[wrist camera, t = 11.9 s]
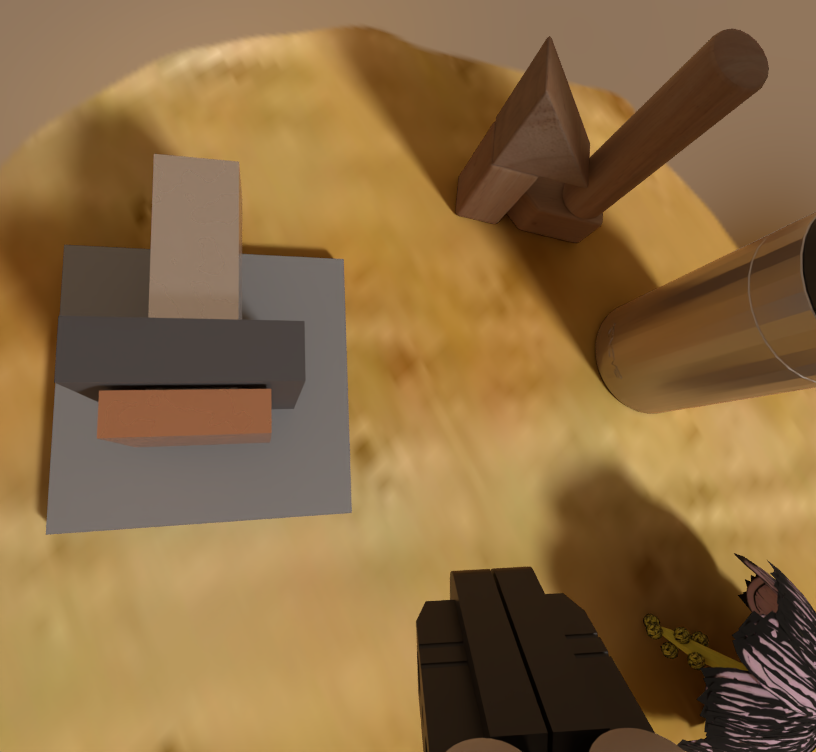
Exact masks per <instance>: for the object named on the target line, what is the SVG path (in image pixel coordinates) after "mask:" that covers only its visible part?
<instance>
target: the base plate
mask: <svg viewBox="0 0 816 752" xmlns="http://www.w3.org/2000/svg"><path fill="white" fill-rule="evenodd" d="M150 254H151V249H137V248H118V247H98V246H79V245H64V256H63V272H62V288H61V304H60V316H99V317H146V318H148V313H149V283H150ZM242 320H285V321H305V375H306V381H305V383H304V386H303V388H302V391H301V393H300V395H299V398H298V400H297V402H296V405H295V407H294V409H271V414H272V434H271V441H270V443H246V444H218V445H190V446H162V447H132V446H127V445H123V444H119V443H114V442H110V441H106V440H101V439H97V422H98V402H97V401H94V400H92V399H90V398H88V397H86V396H83V395H81V394H79V393H77V392H74V391H72V390H70V389H68V388H66V387H63V386H61V385H59V384H57V383H55V398H54V414H53V430H52V445H51V461H50V477H49V493H48V508H47V524H46V535H48V534H62V533H76V532H90V531H104V530H118V529H132V528H146V527H160V526H174V525H188V524H202V523H216V522H230V521H244V520H258V519H272V518H286V517H300V516H314V515H328V514H342V513H352V507H351V476H350V444H349V413H348V382H347V351H346V320H345V288H344V259H330V258H311V257H291V256H272V255H253V254H242Z"/></svg>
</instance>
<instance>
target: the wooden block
mask: <svg viewBox="0 0 816 752" xmlns="http://www.w3.org/2000/svg"><path fill="white" fill-rule="evenodd" d="M768 70H769V67H768V61H767V58H766V56H765V54H764V51H763V49H762V48H761V47H760V45H759V44H758V43H757V41H755V40H754V39H753V38H752V37H751V36H750V35H748V34H746V33H745V32H743V31H741V30H736V29H727V30H723V31H721V32H719V33H717V34H716V35H714V36H713V37H712V38H711V39H710V40H709V41H708V42H707V43H706V44H705V45H704V46H703V47H702V48H701V49H700V50H699V51H698V52H697V53H696V54H695V55H694V56H693V57H692V58H691V59H690V60H688V62H686V63H685V64H684V65H683V67H681V68H680V69H679V71H677V72H676V73H675V74H674V75H673V76H672V77H671V78H670V79H669V80H668V81H667V82H666V83H665V84H664V85H663V86H662V87H661V88H660V89H659V90H658V91H657V92H656V93H655V94H654V95H653V96H652V97H651V98H650V99H649V100H648V101H647V102H646V103H645V104H644V105H643V106H642V107H641V108H640V109H639V110H638V111H637V112H636V113H635V114H634V115H633V116H632V117H631V118H630V119H629V120H628V121H627V122H625V123H624V124H623V125H622V126H621V127H620V128H619V129H618V130H617V131H616V132H615V133H614V134H613V135H612V136H611V137H610V138H609V139H608V140H607V141H606V142H605V143H604V144H603V145H602V146H601V147H600V148H599V149H598V150H597V151H596V152H595V153H594V154H593V155H592V156H591V157H590V142H589V139H588V137H587V134H586V131H585V128H584V126H583V123H582V120H581V117H580V115H579V112H578V109H577V106H576V104H575V101H574V98H573V96H572V93H571V90H570V87H569V85H568V82H567V79H566V76H565V74H564V71H563V68H562V65H561V63H560V60H559V57H558V54H557V52H556V49H555V46H554V44H553V41H552V38H551V37H550V36H549V37H548V38H547V39H546V41H545V42H544V44H543V45H542V47H541V48H540V50H539V52H538V53H537V55H536V56H535V58H534V59H533V61H532V62H531V64H530V66H529V67H528V69H527V70H526V72H525V73H524V75H523V76H522V78H521V80H520V81H519V83H518V84H517V86H516V87H515V89H514V90H513V92H512V94H511V95H510V97H509V98H508V100H507V101H506V103H505V104H504V106H503V108H502V109H501V111H500V112H499V114H498V115H497V117H496V121H495V122H494V123H493V124H492V126H491V127H490V129H489V131H488V132H487V134H486V135H485V137H484V138H483V140H482V141H481V143H480V145H479V146H478V148H477V149H476V151H475V152H474V154H473V155H472V157H471V158H470V160H469V162H468V163H467V165H466V166H465V168H464V169H463V171H462V172H461V174H460V176H459V179H458V190H457V201H456V214H457V215H458V216H462V217H466V218H470V219H474V220H479V221H483V222H487V223H492V224H496V223H498V222H499V221H500V219H501V218H502V217H503V216H504V215H505V214H506V213H507V215H508V216H509V217H510V219H511V220H512V221H513V223H514V224H515V225H516V227H517V228H518V229H520V230H523V231H527V232H531V233H536V234H540V235H544V236H548V237H553V238H557V239H561V240H565V241H570V242H574V243H578V242H580V241H581V240H583V239H584V238H585V237H587V236H588V235H589V234H591V233H592V232H593V231H595V230H596V229H597V228H599V227H600V226H601V225H602V221H603V212H604V211H605V210H606V209H608V208H609V207H610V206H612V205H613V204H614V203H615V202H617V201H618V200H619V199H620V198H622V197H623V196H624V195H626V194H627V193H628V192H629V191H631V190H632V189H633V188H635V187H636V186H637V185H638V184H640V183H641V182H642V181H643V180H645V179H646V178H647V177H649V176H650V175H651V174H652V173H654V172H655V171H656V170H657V169H659V168H660V167H661V166H663V165H664V164H665V163H666V162H668V161H669V160H670V159H672V158H673V157H674V156H675V155H677V154H678V153H679V152H680V151H682V150H683V149H684V148H685V147H687V146H688V145H689V144H690V143H692V142H693V141H694V140H696V139H697V138H698V137H700V136H701V135H702V134H703V133H705V132H706V131H707V130H708V129H709V128H711V127H712V126H714V125H715V124H716V123H717V122H718V121H720V120H721V119H723V118H724V117H725V116H726V115H728V114H729V113H730V112H731V111H732V110H734V109H735V108H737V107H738V106H739V105H740V104H742V103H743V102H744V101H745V100H747V99H748V98H749V97H751V96H752V95H753V94H754V93H756V92H757V91H758V90H759V89H761V88H762V86H763V84H764V83H765V81H766V79H767V77H768ZM589 157H590V158H589Z"/></svg>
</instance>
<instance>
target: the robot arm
mask: <svg viewBox="0 0 816 752" xmlns="http://www.w3.org/2000/svg"><path fill="white" fill-rule="evenodd" d="M596 360H597V365H598V369H599V372H600V374H601V377H602V379H603V381H604V383H605V384H606V386H607V387H608V389H609V391H610V392H611V393H612V394H613V395H614V396H615V397H616V398H617V399H618V400H619V401H620V402H622V403H623V404H624V405H626V406H627V407H629V408H632V409H634V410H636V411H639V412H644V413H662V412H668V411H674V410H680V409H686V408H693V407H700V406H706V405H712V404H718V403H724V402H730V401H736V400H742V399H748V398H754V397H760V396H766V395H772V394H778V393H784V392H790V391H797V390H803V389H809V388H815V387H816V212H814V213H812V214H810V215H808V216H806V217H804V218H802V219H799V220H797V221H795V222H793V223H791V224H789V225H787V226H785V227H783V228H781V229H779V230H777V231H775V232H773V233H771V234H769V235H767V236H765V237H763V238H761V239H759V240H757V241H755V242H753V243H750V244H748V245H746V246H744V247H742V248H740V249H738V250H736V251H734V252H732V253H730V254H727V255H725V256H723V257H721V258H719V259H717V260H715V261H713V262H711V263H709V264H707V265H705V266H703V267H701V268H698V269H696V270H694V271H692V272H690V273H688V274H686V275H684V276H682V277H680V278H678V279H676V280H674V281H671V282H669V283H667V284H665V285H663V286H661V287H659V288H657V289H655V290H652V291H650V292H648V293H646V294H644V295H642V296H640V297H638V298H636V299H634V300H632V301H630V302H628V303H626V304H624V305H622V306H620V307H618V308H616V309H614V310H613V311H612V312H611V313H610V314H609V315H608V316H607V317H606V318H605V320H604V321H603V323H602V324H601V327H600V329H599V331H598V334H597V340H596ZM416 630H417V664H418V694H419V706H420V717H421V729H422V740H423V751H424V752H685V751H684V750H682V749H681V748H680V747H679V746H677V745H676V744H674V743H673V742H671V741H669V740H668V739H666V738H664V737H662V736H660V735H658V734H655V732H654V731H653V729H652V727H651V725H650V724H649V722H648V720H647V719H646V717H645V715H644V713H643V712H642V710H641V708H640V706H639V705H638V703H637V701H636V699H635V698H634V696H633V694H632V692H631V691H630V689H629V687H628V685H627V684H626V682H625V680H624V678H623V677H622V675H621V673H620V672H619V670H618V668H617V666H616V665H615V663H614V661H613V659H612V658H611V656H610V657H609V655H608V651H607V649H606V647H605V645H604V644H603V642H602V640H601V638H600V637H598V635H597V631H596V630H595V628H594V626H593V625H592V623H591V621H590V619H589V618H588V616H587V614H586V612H585V611H584V610H583V609H582V608H580V607H579V606H578V605H577V604H576V603H574V602H573V601H572V600H571V599H569V598H568V597H567V596H566V595H565V594H563V593H558V594H545V593H544V591H543V589H542V587H541V585H540V583H539V581H538V579H537V577H536V575H535V573H534V571H533V569H532V568H531V567H513V568H496V569H491V571H490V569H481V570H463V571H451V573H450V600H441V601H426V602H425V604H424V606H423V608H422V610H421V612H420V615H419V617H418V619H417V621H416Z"/></svg>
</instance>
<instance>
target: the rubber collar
mask: <svg viewBox="0 0 816 752" xmlns="http://www.w3.org/2000/svg"><path fill="white" fill-rule="evenodd" d="M305 381H306V375H305V321H285V320H239V319H192V318H146V317H99V316H59V317H58V333H57V348H56V364H55V380H54V383H57V384H59V385H61V386H63V387H66V388H68V389H70V390H72V391H74V392H77V393H79V394H81V395H83V396H86V397H88V398H90V399H92V400H94V401H97V402H99V391H105V390H146V388H153V387H242V389H271V409H294V407H295V405H296V402H297V400H298V398H299V395H300V393H301V391H302V388H303V386H304V383H305Z"/></svg>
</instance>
